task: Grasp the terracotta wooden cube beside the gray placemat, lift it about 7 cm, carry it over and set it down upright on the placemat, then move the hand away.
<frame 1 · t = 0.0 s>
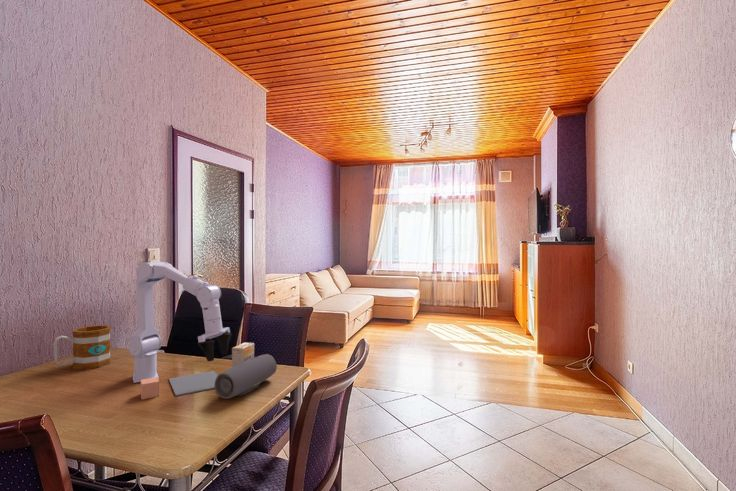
hand: (217, 357, 133), 11 cm above the table, tool pointing down, fingers open, 7 cm apart
terracotta cube: (149, 395, 125), on the table
gray placemat: (196, 383, 136), on the table
bluetooth speaker: (247, 390, 131), on the table
mug: (83, 366, 154), on the table
supplement box: (243, 380, 140), on the table
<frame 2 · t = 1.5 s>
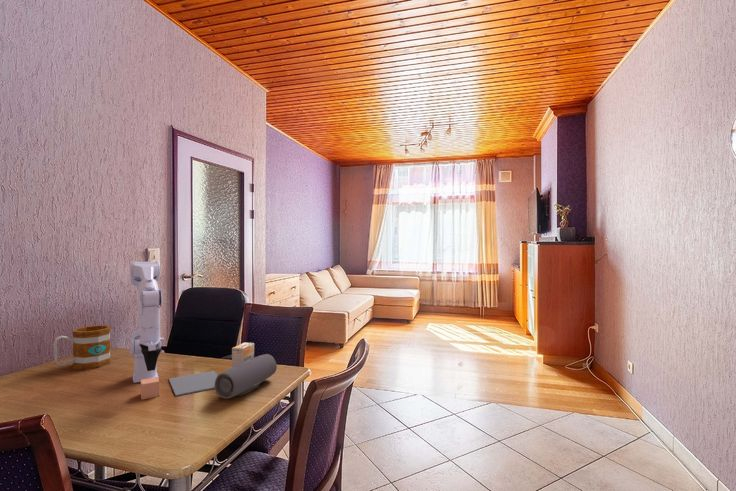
hand: (150, 367, 125), 9 cm above the table, tool pointing down, fingers open, 7 cm apart
nothing on the table moved.
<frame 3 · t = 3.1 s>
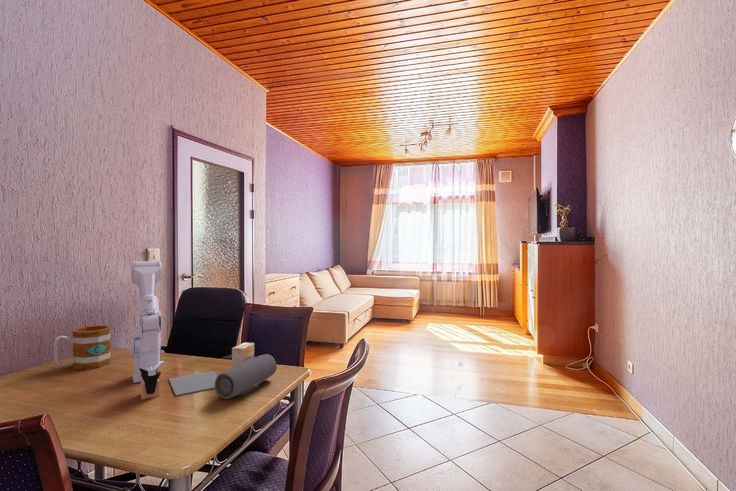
hand: (149, 390, 125), 1 cm above the table, tool pointing down, fingers closed on terracotta cube, 5 cm apart
terracotta cube: (149, 395, 125), on the table, touching gripper
everything else where it was.
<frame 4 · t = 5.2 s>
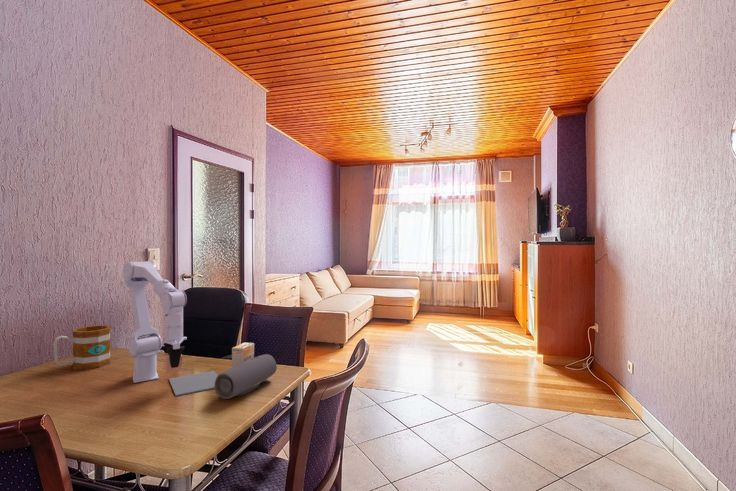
hand: (173, 365, 131), 8 cm above the table, tool pointing down, fingers closed on terracotta cube, 5 cm apart
terracotta cube: (173, 369, 131), point 7 cm above the table, touching gripper
everything else where it was.
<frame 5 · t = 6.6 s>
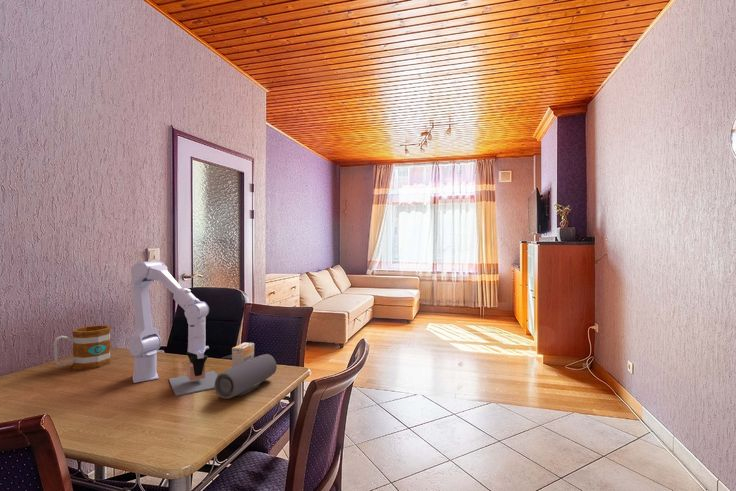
hand: (196, 373, 136), 4 cm above the table, tool pointing down, fingers closed on terracotta cube, 5 cm apart
terracotta cube: (196, 377, 136), point 2 cm above the table, touching gripper
everything else where it was.
when the fingers open (3 cm above the table, at t = 7.5 s): terracotta cube drops 1 cm, resting on gray placemat.
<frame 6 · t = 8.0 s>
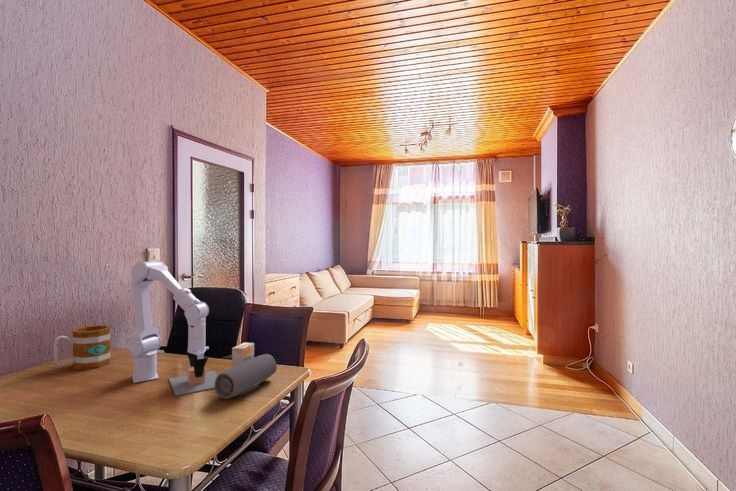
hand: (196, 373, 136), 3 cm above the table, tool pointing down, fingers open, 7 cm apart
terracotta cube: (196, 381, 136), resting on gray placemat
everything else where it was.
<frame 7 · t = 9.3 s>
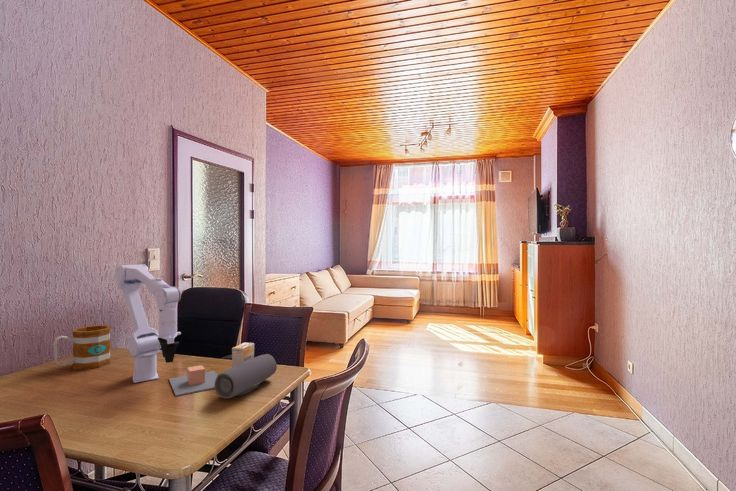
hand: (167, 359, 134), 9 cm above the table, tool pointing down, fingers open, 7 cm apart
nothing on the table moved.
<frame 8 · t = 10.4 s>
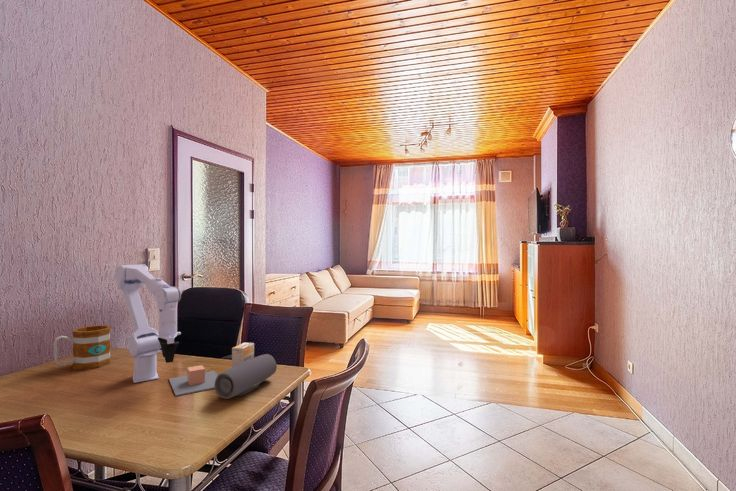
hand: (167, 359, 134), 9 cm above the table, tool pointing down, fingers open, 7 cm apart
nothing on the table moved.
at the end: terracotta cube inside the target area on the gray placemat (0.2 cm from its centre), point 0.5 cm above the gray placemat's base; terracotta cube tilted 0°; the gripper is holding nothing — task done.
